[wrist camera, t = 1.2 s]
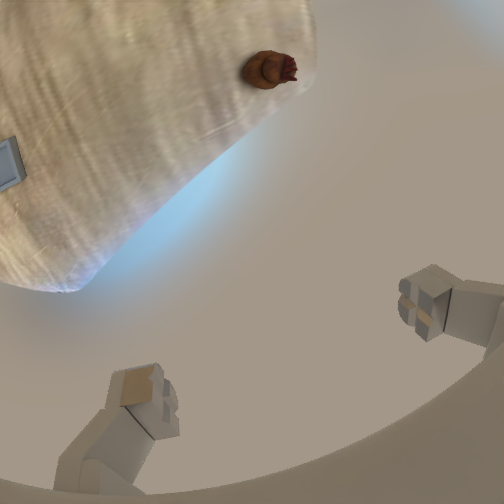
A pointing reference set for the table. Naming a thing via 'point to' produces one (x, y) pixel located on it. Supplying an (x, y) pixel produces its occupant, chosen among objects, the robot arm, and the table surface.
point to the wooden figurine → (270, 69)
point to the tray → (10, 164)
